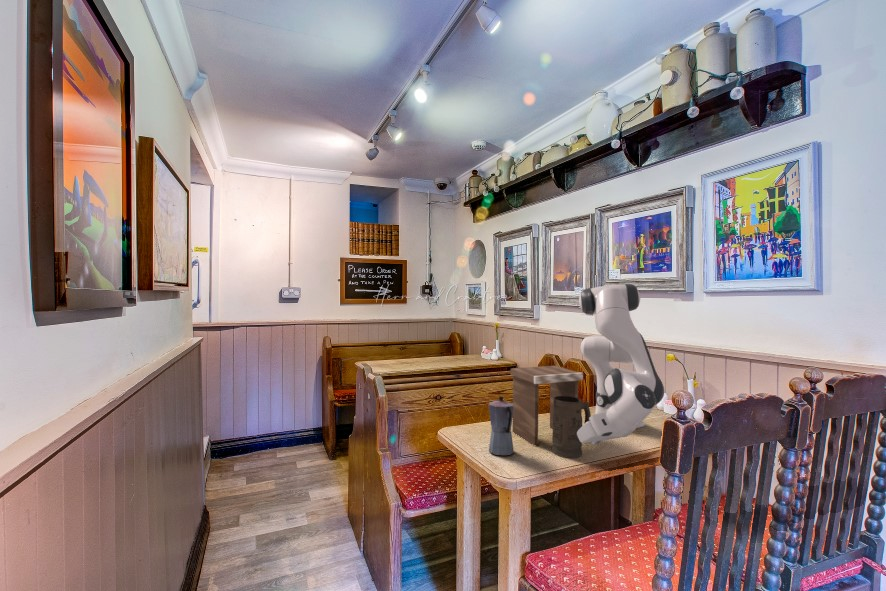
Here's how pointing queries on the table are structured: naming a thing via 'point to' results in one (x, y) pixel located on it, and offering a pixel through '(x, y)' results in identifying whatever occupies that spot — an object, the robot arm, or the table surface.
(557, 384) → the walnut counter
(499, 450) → the moka pot
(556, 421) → the beer stein
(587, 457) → the table surface
